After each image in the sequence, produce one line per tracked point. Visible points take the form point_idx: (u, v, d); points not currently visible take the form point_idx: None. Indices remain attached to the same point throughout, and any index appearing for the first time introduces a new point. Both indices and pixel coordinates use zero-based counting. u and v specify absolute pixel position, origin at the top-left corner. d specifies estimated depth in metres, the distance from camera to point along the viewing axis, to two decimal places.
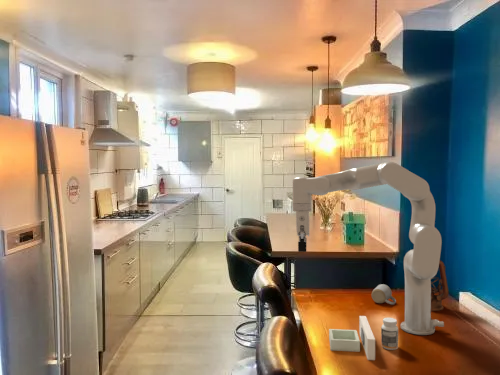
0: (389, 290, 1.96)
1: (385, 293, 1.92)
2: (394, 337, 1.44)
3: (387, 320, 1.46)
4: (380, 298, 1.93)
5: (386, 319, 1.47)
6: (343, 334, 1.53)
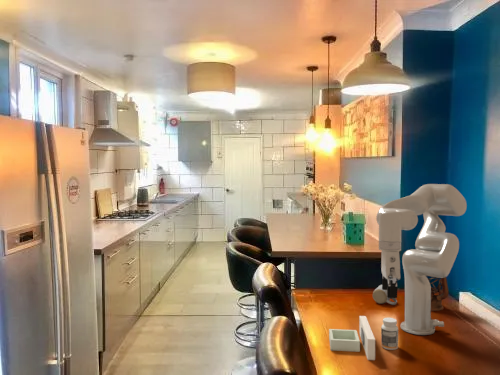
0: None
1: (386, 294, 1.92)
2: (394, 337, 1.44)
3: (387, 319, 1.46)
4: (381, 298, 1.93)
5: (386, 319, 1.47)
6: (343, 334, 1.53)
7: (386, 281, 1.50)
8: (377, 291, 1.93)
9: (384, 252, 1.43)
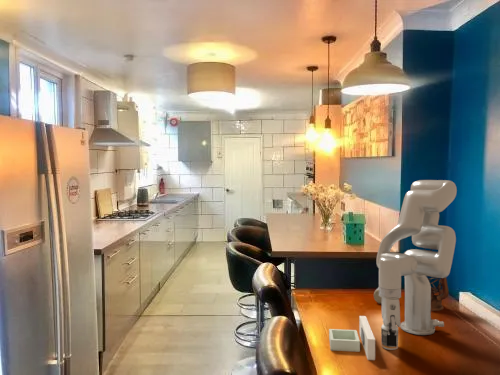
0: None
1: None
2: None
3: None
4: None
5: None
6: (343, 334, 1.53)
7: None
8: (378, 291, 1.93)
9: (384, 299, 1.44)
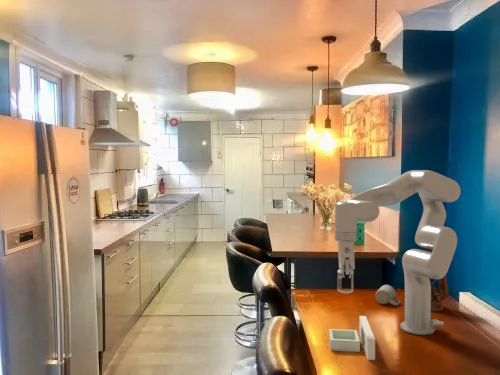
0: (393, 290, 1.95)
1: (389, 294, 1.91)
2: None
3: None
4: (384, 299, 1.92)
5: None
6: (343, 334, 1.53)
7: None
8: (380, 292, 1.92)
9: (339, 242, 1.45)
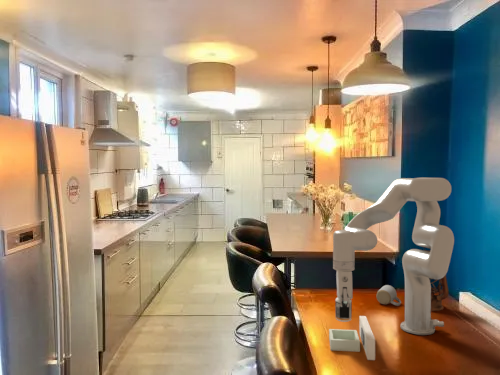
0: (394, 291, 1.94)
1: (390, 294, 1.91)
2: None
3: None
4: (385, 299, 1.91)
5: None
6: (343, 334, 1.53)
7: None
8: (381, 292, 1.92)
9: (337, 271, 1.45)
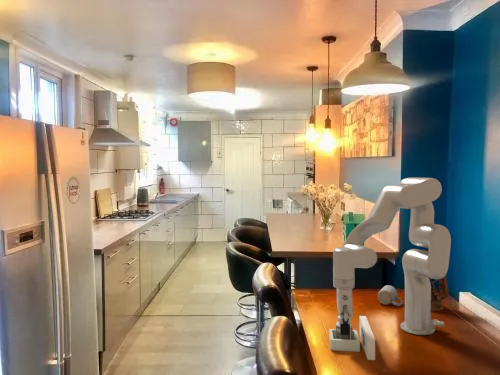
0: (395, 291, 1.94)
1: (391, 294, 1.90)
2: None
3: None
4: (386, 299, 1.91)
5: None
6: None
7: None
8: (382, 292, 1.92)
9: (337, 289, 1.46)
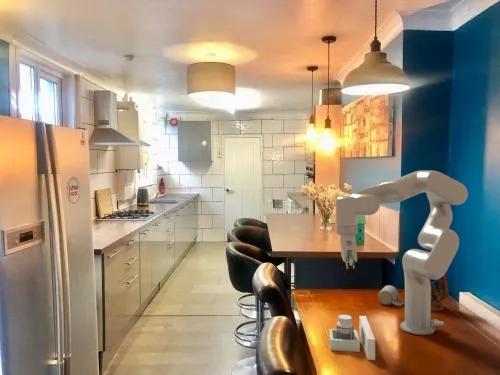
0: (396, 291, 1.94)
1: (392, 295, 1.90)
2: (348, 334, 1.46)
3: (342, 316, 1.48)
4: (387, 299, 1.91)
5: (342, 316, 1.49)
6: None
7: (346, 264, 1.57)
8: (383, 292, 1.91)
9: (341, 236, 1.49)
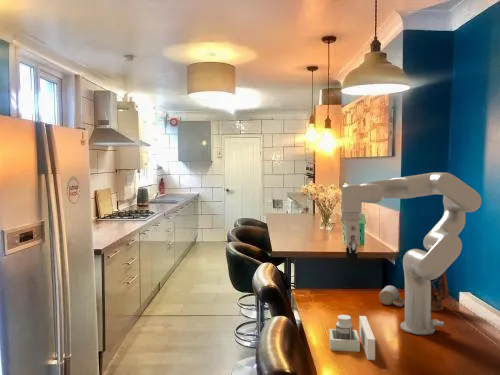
0: (396, 291, 1.94)
1: (393, 295, 1.90)
2: (348, 334, 1.46)
3: (341, 317, 1.48)
4: (387, 299, 1.90)
5: (341, 316, 1.49)
6: None
7: None
8: (384, 292, 1.91)
9: (346, 222, 1.56)
